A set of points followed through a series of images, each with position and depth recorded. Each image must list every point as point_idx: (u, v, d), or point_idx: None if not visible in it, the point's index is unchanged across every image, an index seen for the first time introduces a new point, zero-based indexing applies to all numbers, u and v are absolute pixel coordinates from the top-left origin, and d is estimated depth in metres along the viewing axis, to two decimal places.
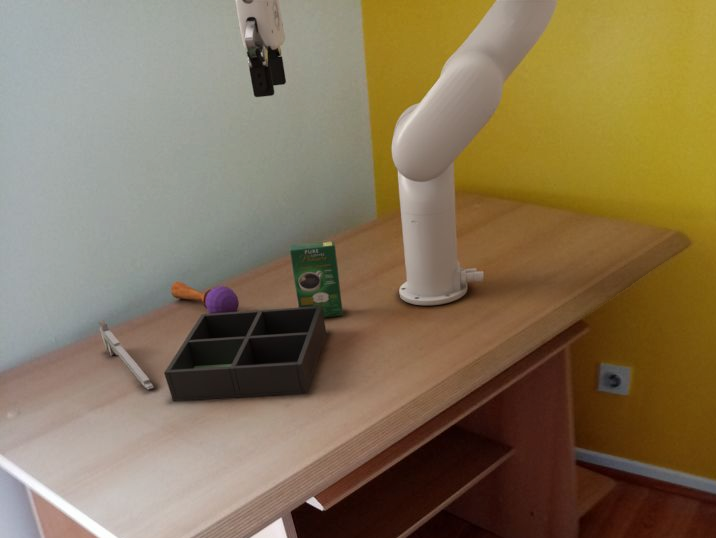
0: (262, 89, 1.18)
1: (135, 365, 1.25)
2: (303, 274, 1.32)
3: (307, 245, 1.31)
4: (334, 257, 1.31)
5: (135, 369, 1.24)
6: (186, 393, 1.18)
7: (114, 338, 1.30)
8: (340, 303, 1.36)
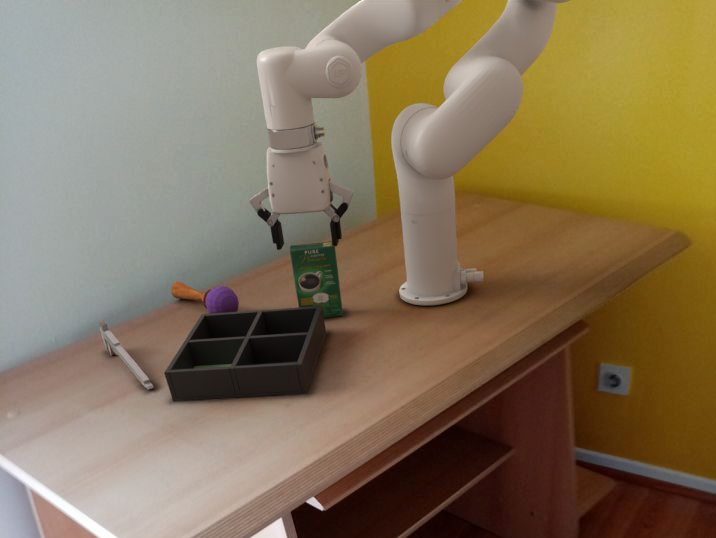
0: (341, 236, 1.29)
1: (135, 365, 1.25)
2: (303, 274, 1.32)
3: (307, 245, 1.31)
4: (334, 257, 1.31)
5: (135, 369, 1.24)
6: (186, 393, 1.18)
7: (114, 338, 1.30)
8: (340, 303, 1.36)
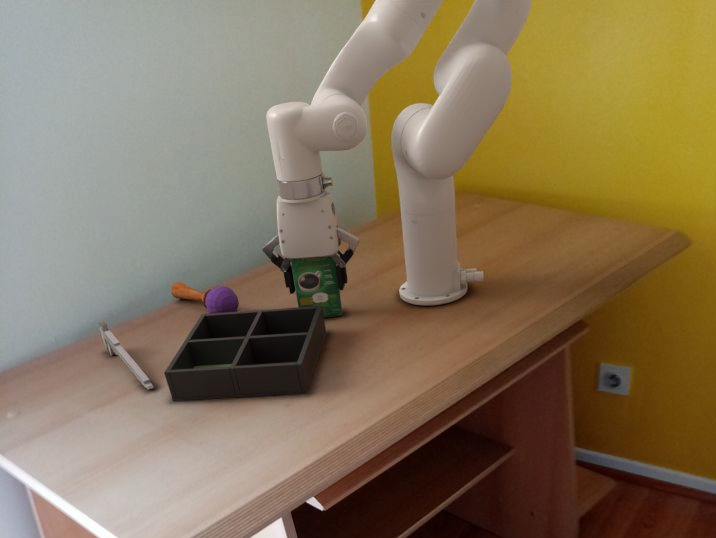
0: (347, 280, 1.34)
1: (135, 365, 1.25)
2: (303, 274, 1.32)
3: None
4: None
5: (135, 369, 1.24)
6: (186, 393, 1.18)
7: (114, 338, 1.30)
8: (340, 303, 1.36)
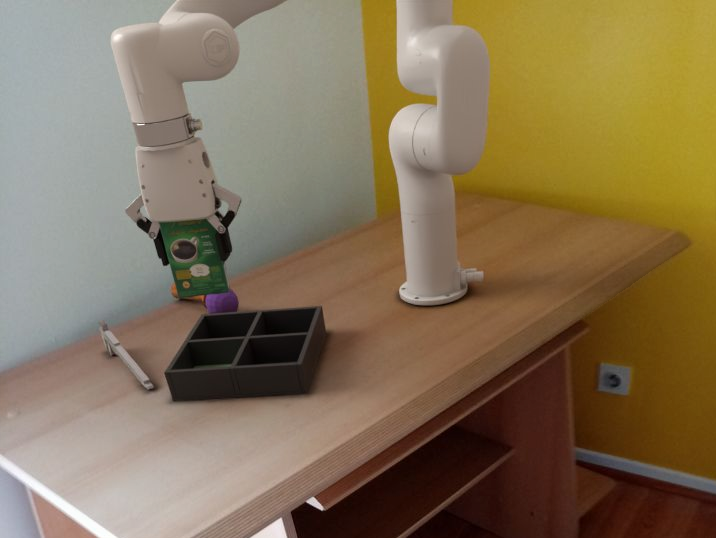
0: (231, 250, 1.11)
1: (135, 365, 1.25)
2: (175, 241, 1.09)
3: None
4: None
5: (135, 369, 1.24)
6: (186, 393, 1.18)
7: (114, 338, 1.30)
8: (224, 277, 1.13)
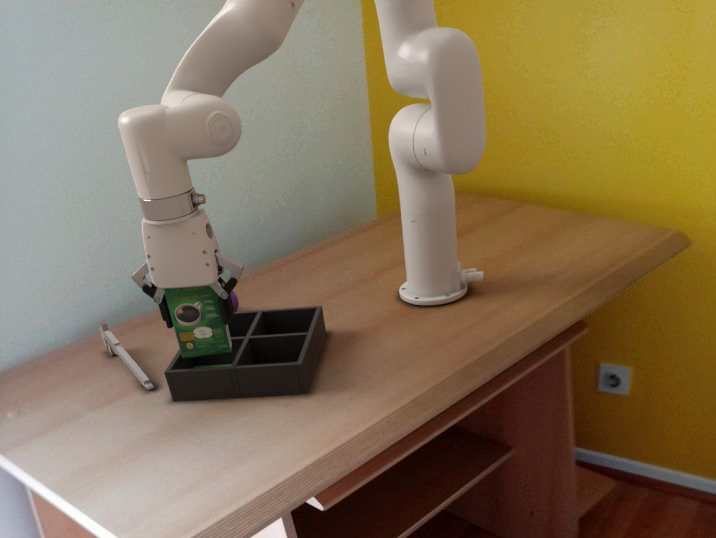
0: (233, 313, 1.15)
1: (135, 365, 1.25)
2: (180, 305, 1.13)
3: None
4: None
5: (135, 369, 1.24)
6: (186, 393, 1.18)
7: (114, 338, 1.30)
8: (226, 339, 1.17)
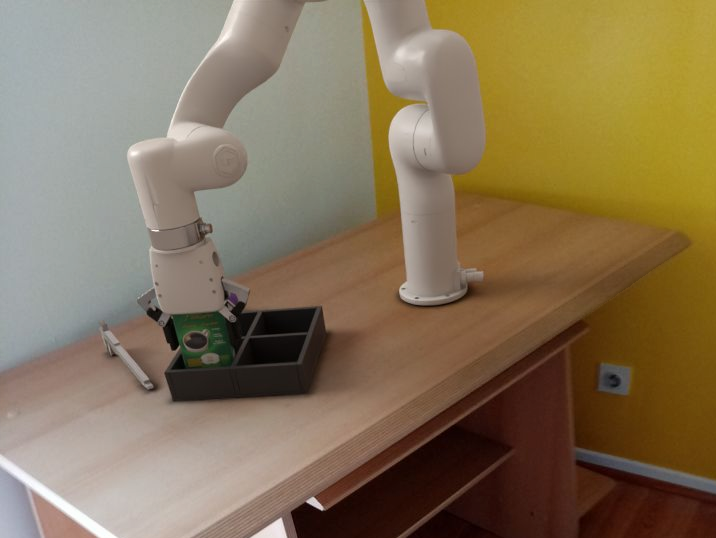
0: (241, 335, 1.17)
1: (135, 365, 1.25)
2: (188, 333, 1.16)
3: None
4: None
5: (135, 369, 1.24)
6: (186, 393, 1.18)
7: (114, 338, 1.30)
8: None
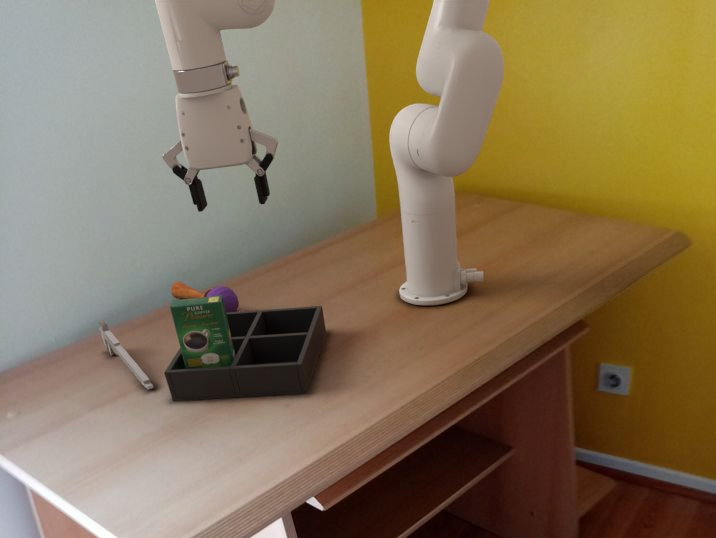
0: (269, 193, 1.15)
1: (135, 365, 1.25)
2: (188, 333, 1.16)
3: (191, 300, 1.14)
4: (222, 314, 1.14)
5: (135, 369, 1.24)
6: (186, 393, 1.18)
7: (114, 338, 1.30)
8: None
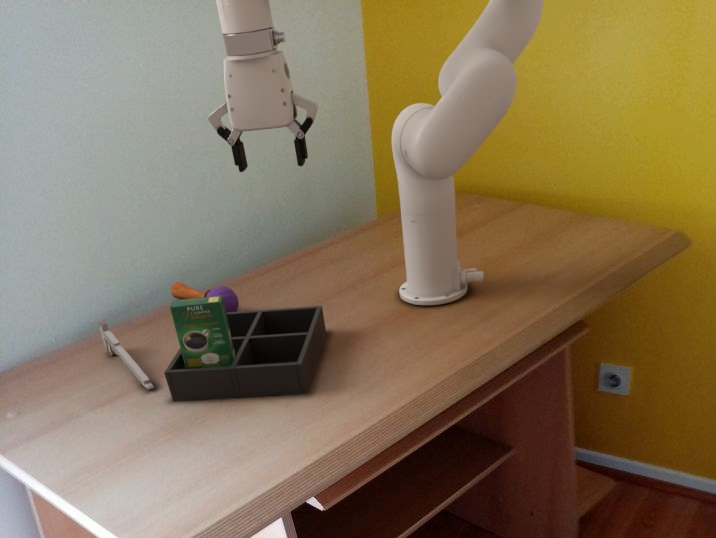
0: (307, 156, 1.21)
1: (135, 365, 1.25)
2: (188, 333, 1.16)
3: (191, 300, 1.14)
4: (222, 314, 1.14)
5: (135, 369, 1.24)
6: (186, 393, 1.18)
7: (114, 338, 1.30)
8: None
